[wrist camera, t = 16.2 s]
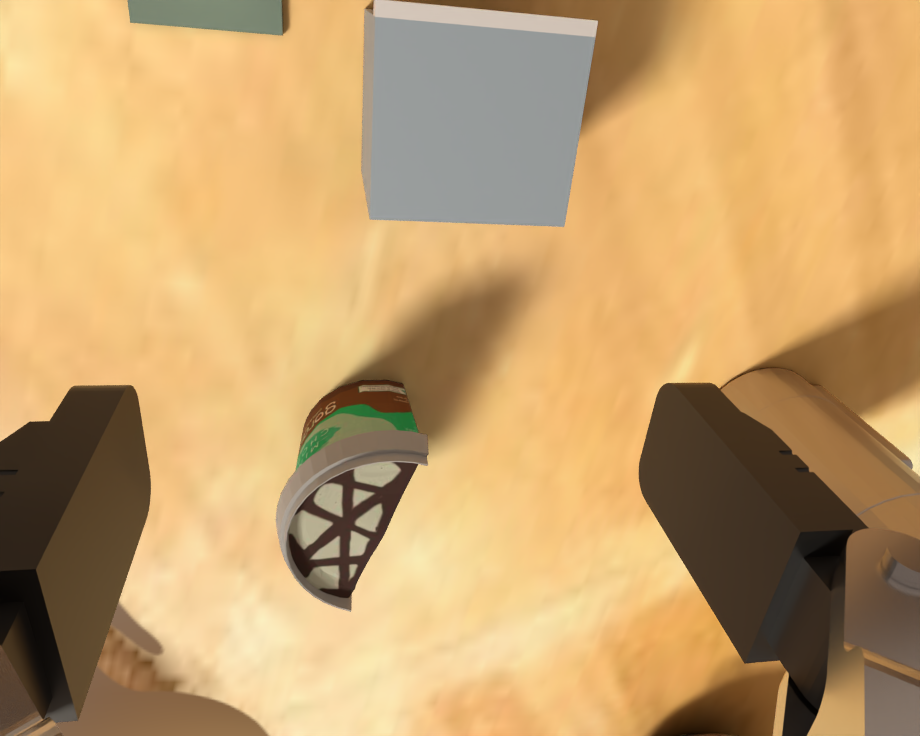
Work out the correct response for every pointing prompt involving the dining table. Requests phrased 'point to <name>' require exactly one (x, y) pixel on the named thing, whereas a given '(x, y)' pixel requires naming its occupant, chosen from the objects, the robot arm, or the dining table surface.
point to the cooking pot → (708, 735)
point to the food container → (347, 485)
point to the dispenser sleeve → (471, 113)
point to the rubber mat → (211, 14)
